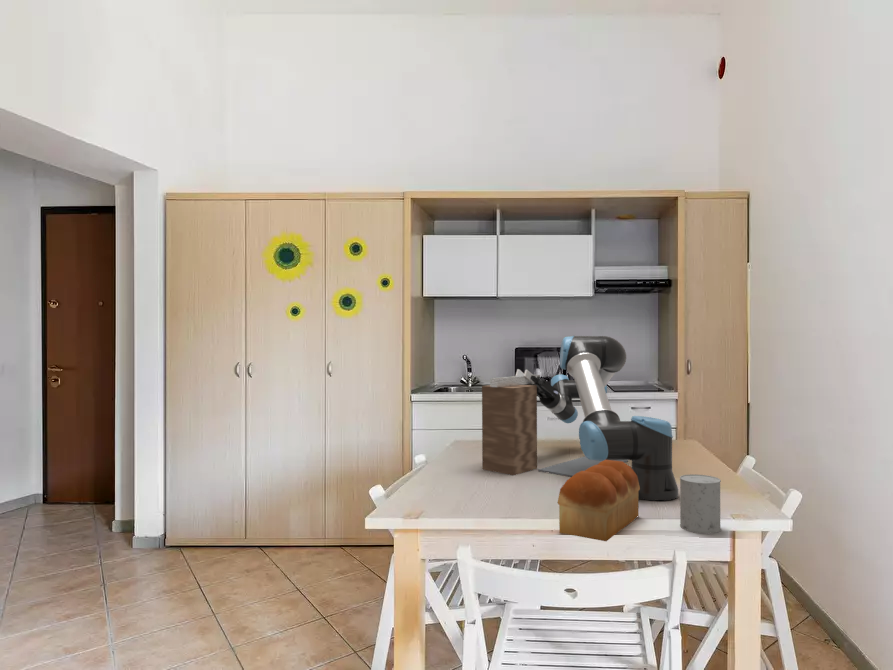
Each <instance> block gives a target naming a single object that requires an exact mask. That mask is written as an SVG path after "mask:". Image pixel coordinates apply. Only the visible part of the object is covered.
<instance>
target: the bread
mask: <svg viewBox="0 0 893 670" xmlns="http://www.w3.org/2000/svg"><path fill="white" fill-rule="evenodd" d="M639 490H640V486H639V482H638V477H637V475H636V473H635V472H634V471H633V470H632V466H630V465H629V464H627V463H624V462H623V461H614V460H604V461H602V462H600V463H599V464H597V465H594V466H592V467H590V468H588V469H587V470H585V471H580V472H578V473H576V474H575V475H573V476H572V477H569V478H568V479H567V480H566V481H565V482H564V483H563V485H562V486H561V488H559V493H558V498H557V504H558V505H559V506H558V508H559V509H558V511H559V518H558V520H559V521H558V523H559V525H558V526H559V527H558V528H559V534H564V535H569V536H570V535H571V536H575V537H580V538H586V539H592V540H597V541H601V542H607V541H609V540H610V539H611V538H613V537H614V536H616V535H617V534H618V533H619V532H620V531H622V530H623V529H624V528H626V527H628V525H630V524H631V523H632V522H633V521H635V520H636V519H637V518H638V517H639V498H638V491H639ZM637 516H638V517H637ZM636 517H637V518H636ZM635 518H636V519H635ZM634 519H635V520H634Z"/></svg>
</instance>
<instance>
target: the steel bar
mask: <svg viewBox="0 0 893 670" xmlns="http://www.w3.org/2000/svg"><path fill="white" fill-rule="evenodd" d="M533 375H534V376H535V377H536V378H537V376H539V377H540V378H541V374H533ZM489 379H490V380H489V385H490V387H505V386H515V385H524V384H532V383H531V382H530V381H529V380H527V379H526V378H525V377H524V375H523V376H515V375H513V376H501V377H500V376H499V377H491V378H489Z"/></svg>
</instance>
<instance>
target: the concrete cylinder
mask: <svg viewBox="0 0 893 670" xmlns="http://www.w3.org/2000/svg"><path fill="white" fill-rule="evenodd" d="M679 483H680V485H679V487H680V488H679V493H680V494H679V496H680V498H679V502H680V503H679V506H680V509H679V510H680V511H679V512H680V513H679V515H680V521H679V523H680V524H679V526H680V529H683V530H684V531H687V532H691V533H696V534H707V535H709V534H717V533H719V532H721V531H722V528H721V478H718V477H716V476H712V475H708V474H707V475H705V474H691V473H690V474H683V475H680V476H679Z"/></svg>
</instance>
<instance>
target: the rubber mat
mask: <svg viewBox="0 0 893 670" xmlns="http://www.w3.org/2000/svg"><path fill="white" fill-rule="evenodd" d="M614 461H623V462H624V463H625V462H626V463H628V462H629V460H614ZM600 462H602V461H598V460H590V459H588V458H587V457H586V456H585V455H584V456H582V457H581V456H580V457H577V458H575V459H571V460H567V461H563V462H560V463H556V464H553V465H550V466H545V467H542V468H537V470H538V472H540V471H542V473H546V472H549V473H548V474H552V473H555V474H554V475H558V474H560V475H559V476H563V475H566V476H565V477H569V476H573V475H575V474H576V473H578V472H580V471H585V470H587V469H588V468H590V467H592V466H594V465H597V464H599V463H600ZM626 463H625V464H626Z"/></svg>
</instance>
